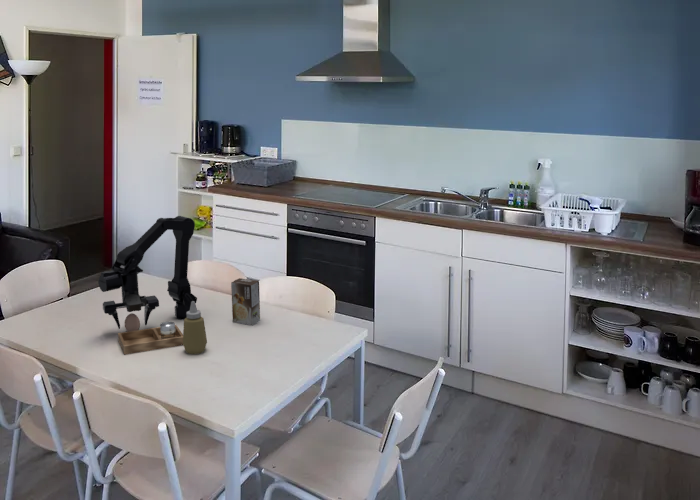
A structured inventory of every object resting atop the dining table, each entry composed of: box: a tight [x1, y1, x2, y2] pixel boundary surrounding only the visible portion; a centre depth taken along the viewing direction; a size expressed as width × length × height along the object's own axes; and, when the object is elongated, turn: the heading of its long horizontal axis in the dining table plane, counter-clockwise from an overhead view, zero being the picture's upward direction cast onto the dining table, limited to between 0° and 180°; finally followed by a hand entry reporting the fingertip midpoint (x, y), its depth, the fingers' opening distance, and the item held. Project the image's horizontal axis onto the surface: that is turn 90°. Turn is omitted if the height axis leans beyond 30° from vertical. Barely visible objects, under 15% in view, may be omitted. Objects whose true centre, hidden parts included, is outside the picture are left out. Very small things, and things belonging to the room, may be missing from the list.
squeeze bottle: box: [182, 301, 208, 355], centre depth 219 cm, size 8×8×18 cm
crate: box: [117, 324, 184, 356], centre depth 227 cm, size 20×13×4 cm, turn 117°
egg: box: [124, 312, 141, 332], centre depth 236 cm, size 5×5×7 cm
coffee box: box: [230, 277, 261, 326], centre depth 248 cm, size 9×6×16 cm
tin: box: [159, 321, 176, 340], centre depth 229 cm, size 5×5×6 cm
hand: (132, 326), depth 237 cm, fingers open, 9 cm apart
